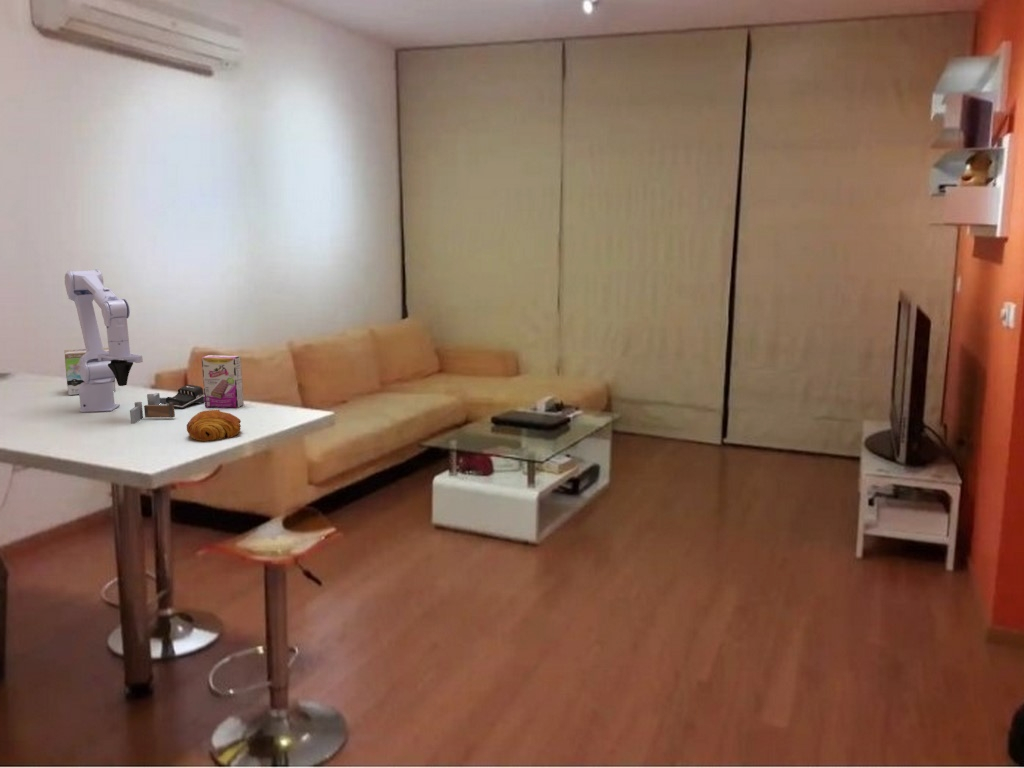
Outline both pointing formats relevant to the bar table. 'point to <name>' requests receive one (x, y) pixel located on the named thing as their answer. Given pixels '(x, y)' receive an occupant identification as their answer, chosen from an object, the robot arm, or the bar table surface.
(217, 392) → the candy bar box
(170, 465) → the bar table surface
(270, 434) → the bar table surface
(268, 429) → the bar table surface
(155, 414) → the gate
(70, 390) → the tea box
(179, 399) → the battery charger
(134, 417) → the fence
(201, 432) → the croissant
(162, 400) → the bar
